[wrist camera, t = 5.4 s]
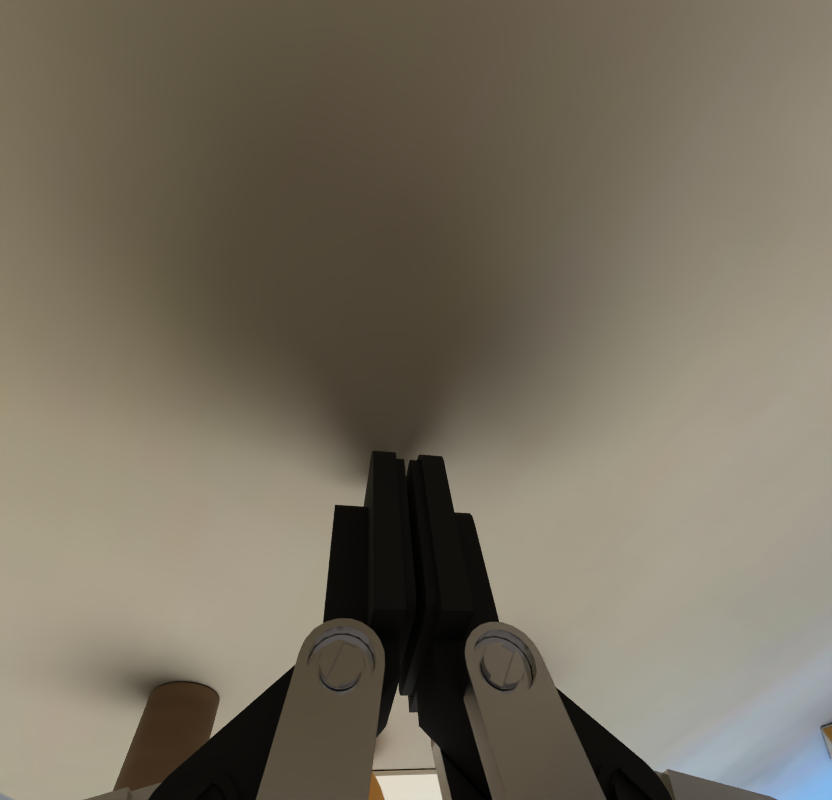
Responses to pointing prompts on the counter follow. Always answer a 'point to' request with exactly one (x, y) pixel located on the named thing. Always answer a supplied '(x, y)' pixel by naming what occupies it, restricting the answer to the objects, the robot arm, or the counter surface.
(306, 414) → the counter surface
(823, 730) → the small box
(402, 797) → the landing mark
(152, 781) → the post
